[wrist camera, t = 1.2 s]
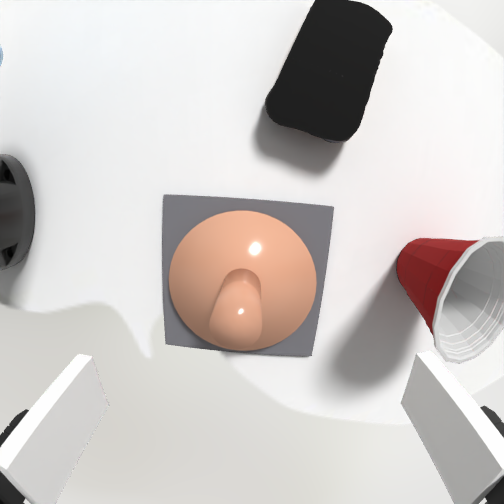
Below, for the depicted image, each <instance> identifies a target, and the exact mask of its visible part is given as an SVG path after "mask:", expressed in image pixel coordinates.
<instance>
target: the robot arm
mask: <svg viewBox="0 0 504 504" xmlns="http://www.w3.org/2000/svg"><path fill="white" fill-rule="evenodd" d="M2 60H3V51H2V48H1V46H0V66H1V64H2ZM34 220H35V209H34V198H33V192H32V187H31V184H30V181H29V178H28V175H27V173H26V171H25V169H24V168H23V166H22V165H21V163H20V162H19V161H18V160H17V159H16V158H14V157H13V156H10V155H6V154H0V270H3V269H6V268H8V267H11V266H13V265H15V264H17V263H18V262H20V261H21V260H22V259H23V257H24V256H25V254H26V253H27V251H28V249H29V246H30V243H31V240H32V236H33V230H34ZM401 404H402V406H403V408H404V409H405V411H406V413H407V415H408V417H409V418H410V420H411V422H412V424H413V425H414V427H415V429H416V431H417V433H418V434H419V436H420V438H421V440H422V442H423V444H424V445H425V447H426V449H427V451H428V453H429V455H430V457H431V459H432V461H433V463H434V465H435V466H436V468H437V470H438V472H439V474H440V476H441V478H442V480H443V482H444V484H445V486H446V488H447V490H448V492H449V494H450V496H451V498H452V500H453V502H454V504H479V503H480V502H481V501H482V500H483V498H486V500H487V502H486V503H485V504H504V423H503V422H501V419H500V418H499V417H498V416H497V414H496V413H495V412H494V411H492V410H491V409H489V408H487V407H486V406H483V407H479V406H478V405H477V404H476V402H475V401H474V400H473V399H472V397H471V396H470V395H469V394H468V393H467V391H466V390H465V389H464V388H463V387H462V385H461V384H460V383H459V382H458V381H457V380H456V378H455V377H454V376H453V375H452V374H451V373H450V372H449V370H448V369H447V368H446V367H445V366H444V365H443V364H442V362H441V361H440V360H439V359H438V358H437V357H436V356H435V355H434V353H433V352H432V351H427V352H421V353H416V357H415V360H414V364H413V367H412V370H411V374H410V377H409V380H408V383H407V386H406V389H405V392H404V395H403V398H402V401H401ZM108 406H109V402H108V400H107V397H106V395H105V392H104V389H103V386H102V383H101V381H100V378H99V375H98V372H97V369H96V365H95V362H94V359H93V356H88V355H82V354H78V355H77V356H76V357H75V358H74V359H73V360H72V361H71V363H70V364H69V365H68V366H67V367H66V368H65V369H64V370H63V372H62V373H61V374H60V375H59V376H58V377H57V378H56V380H55V381H54V382H53V383H52V384H51V385H50V387H49V388H48V389H47V390H46V391H45V392H44V394H43V395H42V396H41V397H40V398H39V400H38V401H37V402H36V403H35V404H34V406H33V407H32V408H31V409H30V410H24V411H23V412H21V413H20V414H18V415H17V416H16V417H15V418H14V419H13V420H12V421H11V423H10V426H7V427H6V429H5V430H4V433H3V432H2V434H1V435H0V504H24V503H23V502H24V500H25V498H26V499H27V500H28V501H29V502H30V503H31V504H56V502H57V500H58V498H59V496H60V494H61V492H62V490H63V488H64V486H65V484H66V483H67V480H68V479H69V477H70V475H71V473H72V471H73V469H74V467H75V466H76V464H77V462H78V460H79V458H80V456H81V455H82V453H83V451H84V449H85V447H86V445H87V444H88V442H89V440H90V438H91V436H92V435H93V433H94V431H95V429H96V428H97V426H98V424H99V422H100V421H101V419H102V417H103V415H104V413H105V412H106V410H107V408H108Z"/></svg>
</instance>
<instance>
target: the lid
mask: <svg viewBox="0 0 504 504" xmlns="http://www.w3.org/2000/svg"><path fill="white" fill-rule="evenodd" d="M316 284H317V282H316V271H315V266H314V263H313V260H312V257H311V255H310V253H309V251H308V249H307V247H306V246H305V244H304V243H303V241H302V240H301V239H300V237H299V236H298V235H297V234H296V233H295V232H294V231H293V230H292V229H291V228H290V227H289V226H287V225H286V224H285V223H283V222H282V221H280V220H278V219H277V218H275V217H272V216H270V215H268V214H264V213H261V212H257V211H250V210H234V211H227V212H223V213H220V214H217V215H214V216H212V217H209V218H208V219H206V220H204V221H203V222H201V223H199V224H198V225H197V226H196V227H194V228H193V229H192V230H191V231H190V232H189V233H188V234H187V235H186V236H185V237H184V238H183V239H182V241H181V242H180V244H179V245H178V247H177V249H176V251H175V253H174V255H173V258H172V261H171V265H170V270H169V289H170V294H171V298H172V301H173V304H174V307H175V309H176V310H177V312H178V314H179V316H180V317H181V319H182V320H183V322H184V323H185V324H186V325H187V326H188V327H189V328H190V329H191V330H192V331H193V332H194V333H195V334H196V335H198V336H199V337H201V338H202V339H204V340H206V341H207V342H209V343H211V344H214V345H216V346H219V347H222V348H226V349H231V350H239V351H249V350H257V349H262V348H266V347H269V346H272V345H274V344H276V343H278V342H281V341H282V340H284V339H285V338H287V337H288V336H290V335H291V334H292V333H293V332H295V331H296V330H297V329H298V327H299V326H300V325H301V324H302V323H303V321H304V320H305V319H306V317H307V315H308V314H309V312H310V310H311V307H312V305H313V302H314V298H315V294H316Z"/></svg>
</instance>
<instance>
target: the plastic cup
mask: <svg viewBox="0 0 504 504" xmlns="http://www.w3.org/2000/svg"><path fill="white" fill-rule="evenodd" d="M397 274H398V278H399V281H400V283H401V284H402V286H403V287H404V289H405V290H406V291H407V295H408V296H409V297H410V299H411V300H412V302H413V303H414V305H415V306H416V308H417V309H418V311H419V312H420V314H421V315H422V317H423V318H424V320H425V321H426V324H427V326H428V327H429V329H430V332H431V333H432V335H433V338H434V345H435V347H436V349H437V351H438V352H439V353H440V355H441V356H442V357H443V359H444V360H445V361H447V362H452V363H458V364H460V363H463V362H465V361H468V360H471V359H473V358H475V357H477V356H478V355H479V354H481V353H482V352H483V351H484V350H485V349H487V348H488V347H489V346H490V345H491V344H492V343H493V342H494V340H495V339H496V338H497V336H498V335H499V334H500V332H501V331H502V330H503V328H504V237H503V236H502V237H484V238H482V239H481V240H474V241H466V240H454V239H430V238H419V239H416V240H414V241H412V242H410V243H408V244H407V245H406V246H405V247H404V248H403V250H402V251H401V253H400V255H399V258H398V260H397Z"/></svg>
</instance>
